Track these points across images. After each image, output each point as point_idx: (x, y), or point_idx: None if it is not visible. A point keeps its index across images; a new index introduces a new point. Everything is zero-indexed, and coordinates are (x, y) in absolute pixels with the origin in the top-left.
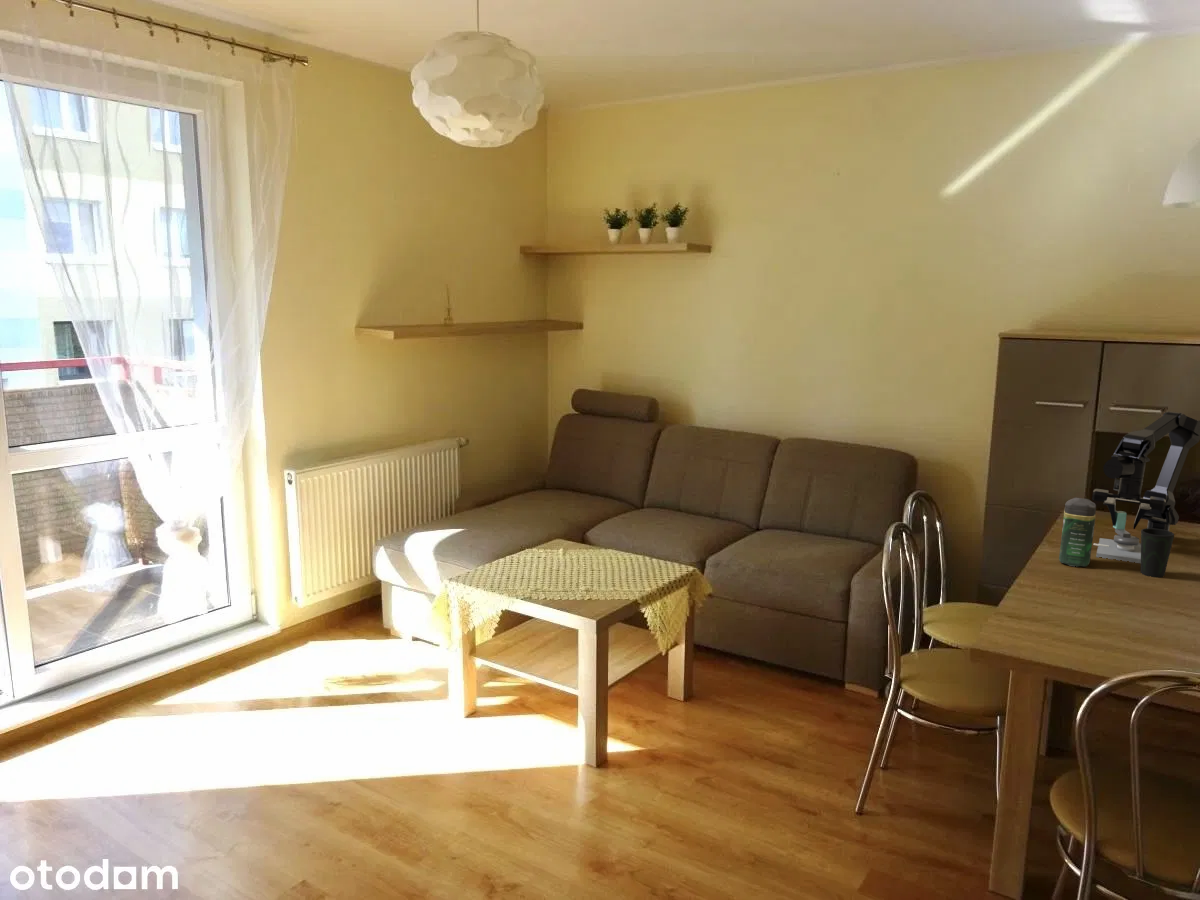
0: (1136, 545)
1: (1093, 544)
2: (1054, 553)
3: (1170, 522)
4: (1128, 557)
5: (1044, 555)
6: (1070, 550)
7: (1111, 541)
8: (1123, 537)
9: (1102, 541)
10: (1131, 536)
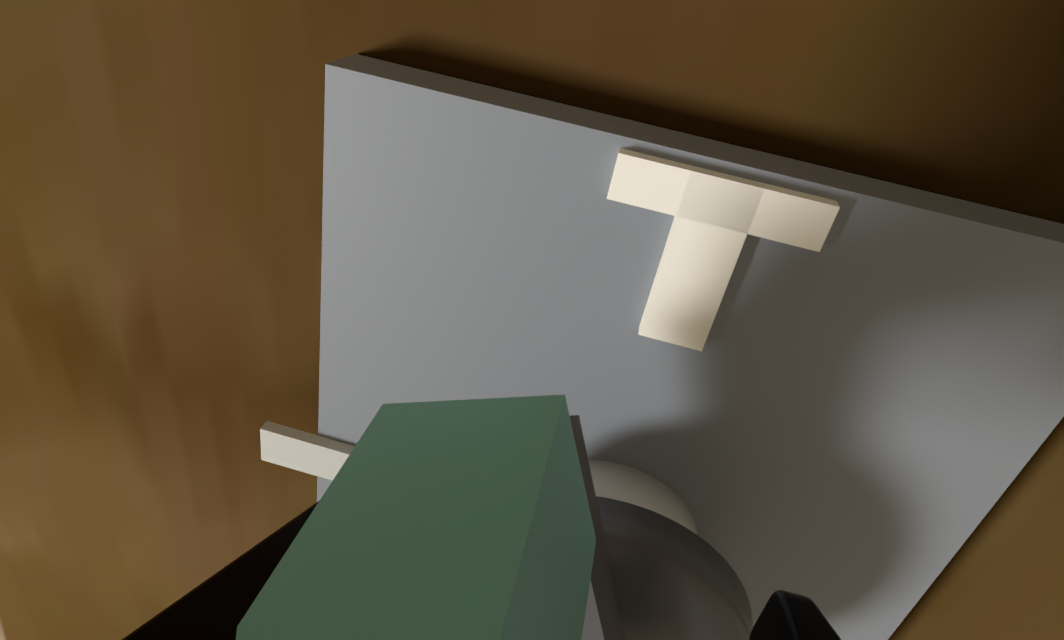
0: (820, 363)
1: (265, 456)
2: (50, 581)
3: None
4: None
5: (15, 624)
6: None
7: (484, 239)
8: None
9: (362, 275)
10: (675, 623)
